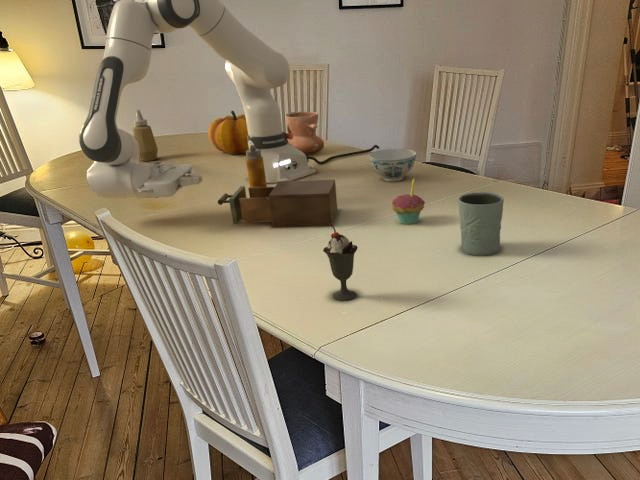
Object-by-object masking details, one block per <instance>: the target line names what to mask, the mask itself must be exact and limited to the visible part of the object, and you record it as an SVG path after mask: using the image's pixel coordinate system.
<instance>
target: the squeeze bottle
mask: <svg viewBox="0 0 640 480" xmlns="http://www.w3.org/2000/svg"><path fill="white" fill-rule="evenodd" d="M135 116H136V118H135V119H134V120H133V124H134V126H133V128H132V135H133V136H134V137H135V138H136V140H137V141H138V143H139V146H140V161H141V162H151V161H155V160H157V159H158V150H159V149H158V145H157V143H156V140H155V136H154V133H153V129H152V127H151V126H150V125H149V124H148V120H147V119H145V118H144V117H143V115H142V113H141V110H140V109H136V110H135Z"/></svg>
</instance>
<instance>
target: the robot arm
mask: <svg viewBox="0 0 640 480" xmlns="http://www.w3.org/2000/svg"><path fill="white" fill-rule="evenodd" d="M187 27H190V28H191V30H193V32H195V34H196V35H197V36H198V37H199V38H200V39H201V40H202V41H203V42H204V43H205V44H206V45H207V46H208V47H209V48H210V49H211V50H212V51H213V52H214V53H215V54H216V55H217V56H219V57H221V58H222V59H224V60H225V64H224V65H225V71H226V74H227V76H228V78H229V79H230V80H231V81H232V83H233V84H234V86H235V89H236V91H237V93H238V96H239V98H240V102H241V103H242V107H243V112H244V115H245V117H246V123H247V130H248V135H247V139H248V147H249V149H250V146H251V145H254V146H255V147H256V149H260V151H261V156H262V157H263V162H264V169H265V177H266V184H273V183H274V184H275V183H278V182H279V181H296V180H299V179H301V178H304V177H306V176H310V175H313V174H315V173H316V172H317V171H316V168H315V167H313V166H311V165H309V161H310V160H312V161H314V162H315V163H316V164H318V165H325V164H326V163H328V162H329V161H331V160H334V159H339V158H343V157H349V156H354V155H361V154H367V153H371V152H373V151H374V150H375V149H377V150H380V146H379V145H377V144H374V145H373V146H372V147H371V148H368V149H363V150H358V151H352V152H346V153H341V154H337V155H332V156H329V157H327V158H326V159H324V160H322V161H320V160H318V159H317V158H316V157H314V156H311V155H305V154H304V153H303V152H302V151H300V150H298V149H297V148H295V147H294V146H292V145H291V144H289V142H288V140H289V139H291V140H292V139H293V138H294V137H293V136H294V134H293V133H288V132H287V133H286V132H284V130H283V125H282V115H281V107H280V105H279V103H278V102H277V101H276V100H275V97H274V96H273V94H272V92H271V90H272V89H273V90H274V89H276V88H279V87H282V86H284V85H285V84H286V83H287V81H288V80H289V77H290V64H289V62H288V59H287V58H286V57H285V56H284V55H283V54H281V53H280V52H278V51H277V50H274V48H272V47H271V46H269V45H268V44H266V42H264V41H263V40H261V39H260V38H259V37H258V36H257V35H255V34H254V33H252V31H250V30H249V29H247V28H246V27H245V25H243V24H242V22H240V21H239V20H238V18H237V17H235V16H234V14H232V13H231V12H230V10H229V9H228V7H226V6H225V5H224V4H223V3H222V2H221V1H220V0H118V1H116V3H115V4H114V5H113V7H112V10H111V13H110V17H109V21H108V25H107V30H106V37H105V47H104V52H103V57H102V60H101V61H100V63H99V65H98V69H97V72H96V77H95V80H94V85H93V91H92V95H91V99H90V100H91V101H90V106H89V111H88V114H87V117H86V119H85V121H84V123H83V125H82V126H81V128H80V132H79V135H78V136H79V137H78V141H79V142H78V143H79V146H80V149H81V151H82V153H83V154H84V155H85V156H86V157H87V158H88V159H90V160H91V161H93V163H92V165H91V166H90V167H89V168H88V169H87V171H86V182H87V184H88V187H89V189H90V190H91V191H92V193H93V194H95V196H98V197H100V198H103V199H111V200H112V199H113V200H126V199H130V198H137V199H158V198H169V197H170V198H171V197H174V195H175V194H176V193H178V192H179V191H180V190H182V189H183V188H184V187H189V186H193V185H194V186H195V185H200V184H201V183H202V182H203V177H202V175H201V174H196V173H195V168H194V166H193V165H192V164H188V163H165V161H156V162H151V163H140V161H141V159H140V146H139V143H138V141H137V140H136V138H135V137H134V134H132V133H129V132H127V131H126V130H123V129H121V128H119V127H118V125H117V116H118V111H119V106H120V101H121V96H122V92H123V90H124V88H125V87H126V86H127V85H129V84H134V83H138V82H140V81H141V80H143V79H144V78H145V77H147V74H148V71H149V69H150V64H151V57H152V47H153V38H154V35H158V34H168V33H173V32H174V31H177V30H179V29H184V28H187Z"/></svg>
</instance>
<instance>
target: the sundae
mask: <svg viewBox="0 0 640 480" xmlns="http://www.w3.org/2000/svg"><path fill="white" fill-rule="evenodd" d="M329 225H330V226H329V227H331V228H332V229H333V233H331V235H330V237H331V239H330V240H329V241H328V242H327V246H325V247H324V248H323V250H322V251H323V253H325V255H327V258H328V261H329V265H330V270H331V273H332V275H333V277H334V278H335V279H336V280H337V281H338V280H339V282H340V290H337V291H335V292H334V293H333V294H332V296H331V297H332V299H334V300H335V301H339V302H346V301H351V300H354V299H356V297H357V292H356V291H354V290H351V289H348V286H347V280H349V279H350V277H351V276H353V272H354V261H355V254H356V253H357V251H358V245H356V244H353V241H352V240H350V241H349V239H348V238H347V237H346V236H345V235H343V234H340V233H339V232H337V231H336V229H335V227H334V226H333V223H332V224H331V223H329Z"/></svg>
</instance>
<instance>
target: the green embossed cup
mask: <svg viewBox="0 0 640 480" xmlns="http://www.w3.org/2000/svg"><path fill="white" fill-rule="evenodd" d="M504 201H505V198H504V196H503V195H501V194H499V193H495V192H484V191H478V192H469V193H466V194H465V193H464V194H462V195H460V196H459V197H458V199H457V203H458V213H459V223H460V235H461V236H460V237H461V238H460V239H461V240H460V241H461V250H462V252H463V253H465V254H466V255H470V256H477V257H478V256H480V257H481V256H485V257H486V256H491V255H494V254H497V253H498V252H499V250H500V244H501V243H500V242H501V229H502V221H503V210H504Z"/></svg>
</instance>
